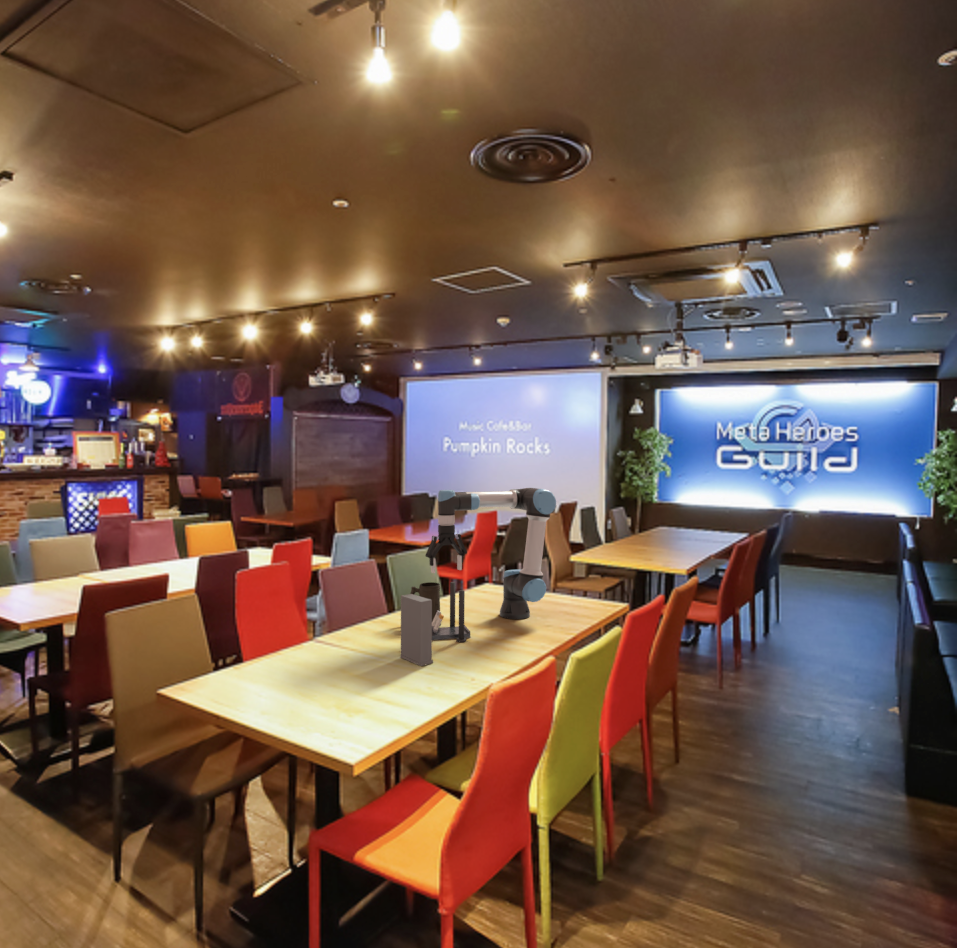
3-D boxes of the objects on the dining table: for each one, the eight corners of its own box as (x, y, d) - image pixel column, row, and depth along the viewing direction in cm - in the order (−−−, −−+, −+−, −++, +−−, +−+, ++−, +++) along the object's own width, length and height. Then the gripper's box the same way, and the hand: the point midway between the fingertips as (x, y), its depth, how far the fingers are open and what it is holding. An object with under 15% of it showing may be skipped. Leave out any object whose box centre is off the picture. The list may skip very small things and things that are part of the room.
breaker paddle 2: (435, 631, 288) (442, 614, 288) (436, 633, 284) (444, 616, 285) (431, 630, 287) (439, 613, 288) (433, 632, 284) (441, 615, 285)
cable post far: (456, 628, 300) (456, 581, 300) (458, 630, 296) (458, 583, 295) (446, 628, 299) (447, 581, 298) (448, 631, 295) (449, 583, 294)
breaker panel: (464, 630, 297) (464, 624, 297) (470, 637, 286) (470, 631, 285) (412, 633, 291) (412, 627, 291) (416, 641, 279) (416, 635, 279)
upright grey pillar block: (433, 663, 251) (433, 599, 250) (420, 666, 247) (421, 602, 246) (412, 654, 261) (413, 593, 260) (400, 657, 257) (400, 595, 256)
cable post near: (465, 639, 283) (465, 589, 282) (467, 642, 279) (467, 591, 278) (455, 640, 282) (455, 589, 281) (457, 642, 278) (457, 592, 277)
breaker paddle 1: (432, 627, 294) (440, 611, 294) (434, 630, 290) (441, 613, 291) (429, 626, 293) (437, 610, 294) (430, 628, 290) (438, 611, 290)
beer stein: (444, 622, 310) (441, 581, 309) (440, 628, 299) (438, 585, 299) (412, 623, 312) (410, 582, 311) (408, 629, 301) (405, 587, 300)
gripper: (465, 521, 300) (465, 567, 301) (417, 525, 287) (418, 572, 288) (474, 523, 294) (474, 569, 295) (425, 527, 281) (425, 575, 282)
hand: (446, 571), depth 291 cm, fingers open, 13 cm apart
